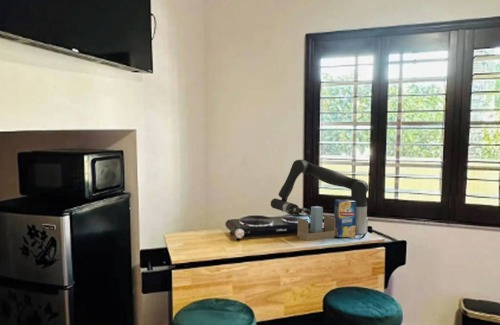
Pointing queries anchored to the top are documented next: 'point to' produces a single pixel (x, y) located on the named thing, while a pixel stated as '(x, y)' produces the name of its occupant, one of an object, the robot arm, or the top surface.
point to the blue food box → (345, 218)
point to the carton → (326, 233)
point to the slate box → (316, 219)
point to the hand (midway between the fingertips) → (304, 213)
